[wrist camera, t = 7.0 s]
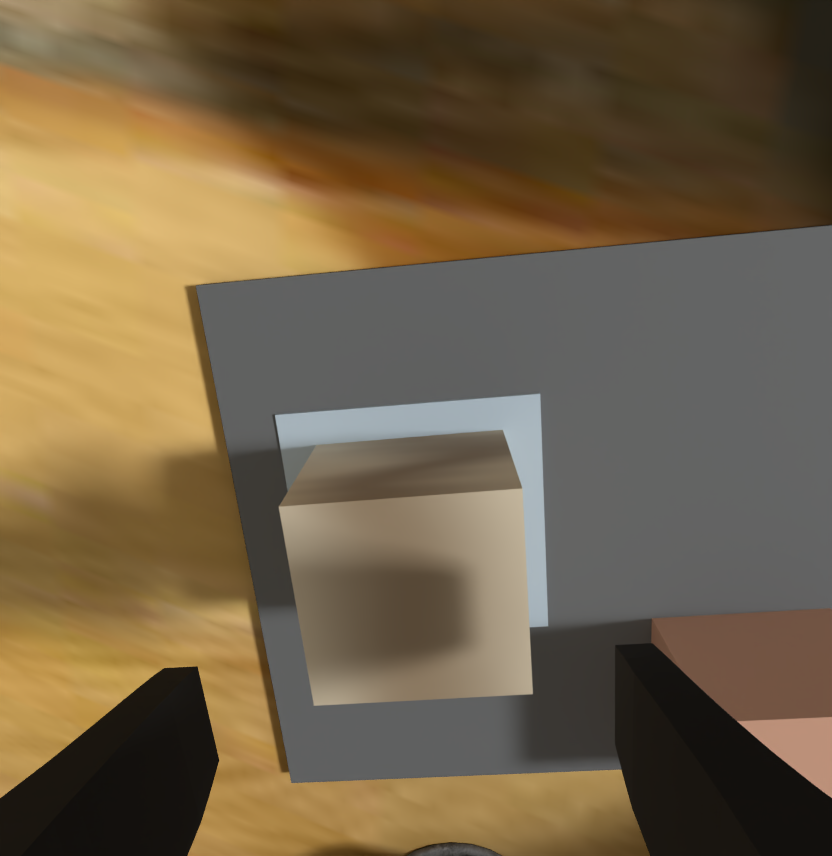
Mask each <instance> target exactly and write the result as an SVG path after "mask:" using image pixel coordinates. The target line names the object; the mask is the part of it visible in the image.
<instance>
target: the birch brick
mask: <svg viewBox="0 0 832 856" xmlns="http://www.w3.org/2000/svg"><path fill="white" fill-rule="evenodd" d="M279 511H280V517H281V523H282V528H283V534H284V540H285V545H286V551H287V557H288V562H289V568H290V573H291V579H292V585H293V590H294V596H295V602H296V607H297V613H298V619H299V624H300V630H301V636H302V641H303V647H304V652H305V658H306V664H307V669H308V675H309V681H310V686H311V692H312V698H313V703H314V706H320V705H339V704H357V703H376V702H395V701H413V700H432V699H451V698H470V697H488V696H507V695H526V694H533V686H532V667H531V647H530V627H529V607H528V587H527V567H526V548H525V528H524V508H523V488H522V485H521V482H520V479H519V477H518V474H517V471H516V468H515V465H514V462H513V459H512V456H511V453H510V450H509V447H508V444H507V441H506V438H505V435H504V432H503V430H493V431H481V432H469V433H457V434H444V435H432V436H420V437H408V438H395V439H383V440H371V441H359V442H346V443H334V444H322V445H316V446H315V448H314V450H313V451H312V453H311V455H310V456H309V458H308V460H307V461H306V463H305V464H304V466H303V468H302V469H301V471H300V473H299V474H298V476H297V478H296V479H295V481H294V482H293V484H292V486H291V487H290V489H289V491H288V492H287V494H286V496H285V497H284V499H283V501H282V502H281V504H280V505H279Z"/></svg>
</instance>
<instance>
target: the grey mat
mask: <svg viewBox="0 0 832 856" xmlns="http://www.w3.org/2000/svg"><path fill="white" fill-rule="evenodd" d="M196 290H197V295H198V300H199V305H200V311H201V316H202V321H203V326H204V331H205V336H206V342H207V347H208V352H209V357H210V362H211V368H212V373H213V378H214V383H215V388H216V394H217V399H218V404H219V409H220V414H221V419H222V425H223V430H224V435H225V440H226V445H227V451H228V456H229V461H230V466H231V471H232V477H233V482H234V487H235V492H236V497H237V503H238V508H239V513H240V518H241V523H242V528H243V534H244V539H245V544H246V549H247V554H248V560H249V565H250V570H251V575H252V580H253V586H254V591H255V596H256V601H257V606H258V611H259V617H260V622H261V627H262V632H263V637H264V643H265V648H266V653H267V658H268V663H269V669H270V674H271V679H272V684H273V689H274V694H275V700H276V705H277V710H278V715H279V720H280V726H281V731H282V736H283V741H284V746H285V752H286V757H287V762H288V767H289V772H290V778H291V783H302V782H327V781H351V780H375V779H400V778H424V777H448V776H473V775H497V774H521V773H545V772H570V771H594V770H618V769H621V765H620V761H619V758H618V754H617V750H616V746H615V645H625V644H644V643H651V631H652V618H667V617H685V616H702V615H720V614H738V613H755V612H773V611H791V610H809V609H826V608H831V609H832V225H827V226H816V227H806V228H795V229H784V230H774V231H763V232H753V233H742V234H732V235H721V236H711V237H700V238H689V239H679V240H668V241H658V242H647V243H637V244H626V245H615V246H605V247H594V248H584V249H573V250H563V251H552V252H541V253H531V254H520V255H510V256H499V257H489V258H478V259H467V260H457V261H446V262H436V263H425V264H415V265H404V266H394V267H383V268H372V269H362V270H351V271H341V272H330V273H320V274H309V275H298V276H288V277H277V278H267V279H256V280H246V281H235V282H224V283H214V284H203V285H197V286H196ZM493 430H503V432H504V435H505V438H506V441H507V444H508V447H509V450H510V453H511V456H512V459H513V462H514V465H515V468H516V471H517V474H518V477H519V479H520V482H521V485H522V488H523V508H524V528H525V548H526V567H527V587H528V607H529V627H530V647H531V667H532V686H533V694H526V695H507V696H488V697H470V698H451V699H432V700H413V701H395V702H376V703H357V704H339V705H320V706H314V703H313V698H312V692H311V686H310V681H309V675H308V669H307V664H306V658H305V652H304V647H303V641H302V636H301V630H300V624H299V619H298V613H297V607H296V602H295V596H294V590H293V585H292V579H291V573H290V568H289V562H288V557H287V551H286V545H285V540H284V534H283V528H282V523H281V517H280V511H279V505H280V504H281V502H282V501H283V499H284V497H285V496H286V494H287V492H288V491H289V489H290V487H291V486H292V484H293V482H294V481H295V479H296V478H297V476H298V474H299V473H300V471H301V469H302V468H303V466H304V464H305V463H306V461H307V460H308V458H309V456H310V455H311V453H312V451H313V450H314V448H315V446H316V445H322V444H334V443H346V442H359V441H371V440H383V439H395V438H408V437H420V436H432V435H444V434H457V433H469V432H481V431H493Z"/></svg>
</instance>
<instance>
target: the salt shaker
mask: <svg viewBox="0 0 832 856" xmlns="http://www.w3.org/2000/svg"><path fill="white" fill-rule="evenodd" d="M407 856H501V855H499V854H497V853H496V852H494V851H492V850H490V849H486V848H483V847H479V846H476V845H472V844H462V843H445V844H436V845H431V846H428V847H425V848H422V849H419V850H416V851H414V852H412V853H410V854H409V855H407Z"/></svg>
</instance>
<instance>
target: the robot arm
mask: <svg viewBox="0 0 832 856" xmlns="http://www.w3.org/2000/svg"><path fill="white" fill-rule="evenodd" d="M615 746H616V750H617V754H618V758H619V761H620V765H621V769H622V773H623V777H624V780H625V784H626V788H627V791H628V795H629V798H630V802H631V805H632V809H633V811H634V814H635V817H636V819H637V822H638V825H639V827H640V830H641V833H642V835H643V838H644V840H645V843H646V846H647V848H648V851H649V853H650V856H832V798H831V797H830V796H828V795H827V794H826V793H824V792H823V791H822V790H820V789H819V788H818V787H816V786H815V785H814V784H812V783H811V782H810V781H809V780H807V779H806V778H805V777H804V776H802V775H801V774H800V773H799V772H797V771H796V770H795V769H794V768H792V767H791V766H790V765H788V764H787V763H786V762H785V761H783V760H782V759H781V758H780V757H778V756H777V755H776V754H775V753H774V752H772V751H771V750H770V749H769V748H768V747H766V746H765V745H764V744H763V743H762V742H760V741H759V740H758V739H757V738H756V737H755V736H754V735H752V734H751V733H750V732H749V731H748V730H747V729H746V728H744V727H743V726H742V725H741V724H740V723H739V722H737V721H736V720H735V719H734V718H733V717H732V716H731V715H729V714H728V713H727V712H726V711H725V710H724V709H723V708H722V707H721V706H719V705H718V704H717V703H716V702H715V701H714V700H713V699H712V698H711V697H710V696H709V695H707V694H706V693H705V692H704V691H703V690H702V689H701V688H700V687H699V686H698V685H697V684H696V683H695V682H693V681H692V680H691V679H690V678H689V677H688V676H687V675H686V674H685V673H684V672H683V671H682V670H681V669H680V668H679V667H678V666H677V665H675V664H674V663H673V662H672V661H671V660H670V659H669V658H668V657H667V656H666V655H665V654H664V653H663V652H662V651H661V650H659V649H658V648H657V647H656V646H655V645H654V644H653V643H644V644H625V645H615ZM218 762H219V758H218V753H217V749H216V745H215V740H214V736H213V732H212V727H211V723H210V719H209V714H208V710H207V706H206V701H205V697H204V693H203V689H202V684H201V680H200V676H199V671H198V667H178V668H164V669H162V670H161V671H160V672H158V673H157V674H155V675H154V676H153V677H151V678H150V679H149V680H148V681H146V682H145V683H144V684H143V685H141V686H140V687H139V688H138V689H136V690H135V691H134V692H133V693H131V694H130V695H129V696H128V697H127V698H125V699H124V700H123V701H122V702H121V703H119V704H118V705H117V706H116V707H115V708H113V709H112V710H111V711H110V712H108V713H107V714H106V715H105V716H104V717H102V718H101V719H100V720H99V721H98V722H96V723H95V724H94V725H93V726H91V727H90V728H89V729H88V730H87V731H85V732H84V733H83V734H82V735H80V736H79V737H78V738H77V739H76V740H74V741H73V742H72V743H71V744H69V745H68V746H67V747H66V748H65V749H63V750H62V751H61V752H60V753H58V754H57V755H56V756H55V757H53V758H52V759H51V760H50V761H48V762H47V763H46V764H44V765H43V766H42V767H41V768H39V769H38V770H37V771H35V772H34V773H33V774H31V775H30V776H29V777H28V778H26V779H25V780H24V781H22V782H21V783H20V784H18V785H17V786H16V787H14V788H13V789H12V790H11V791H9V792H8V793H7V794H5V795H4V796H3V797H1V798H0V856H187V855H188V852H189V850H190V848H191V845H192V843H193V840H194V838H195V836H196V833H197V831H198V828H199V826H200V823H201V820H202V817H203V814H204V811H205V807H206V804H207V801H208V798H209V794H210V791H211V787H212V784H213V780H214V777H215V773H216V769H217V766H218Z"/></svg>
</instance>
